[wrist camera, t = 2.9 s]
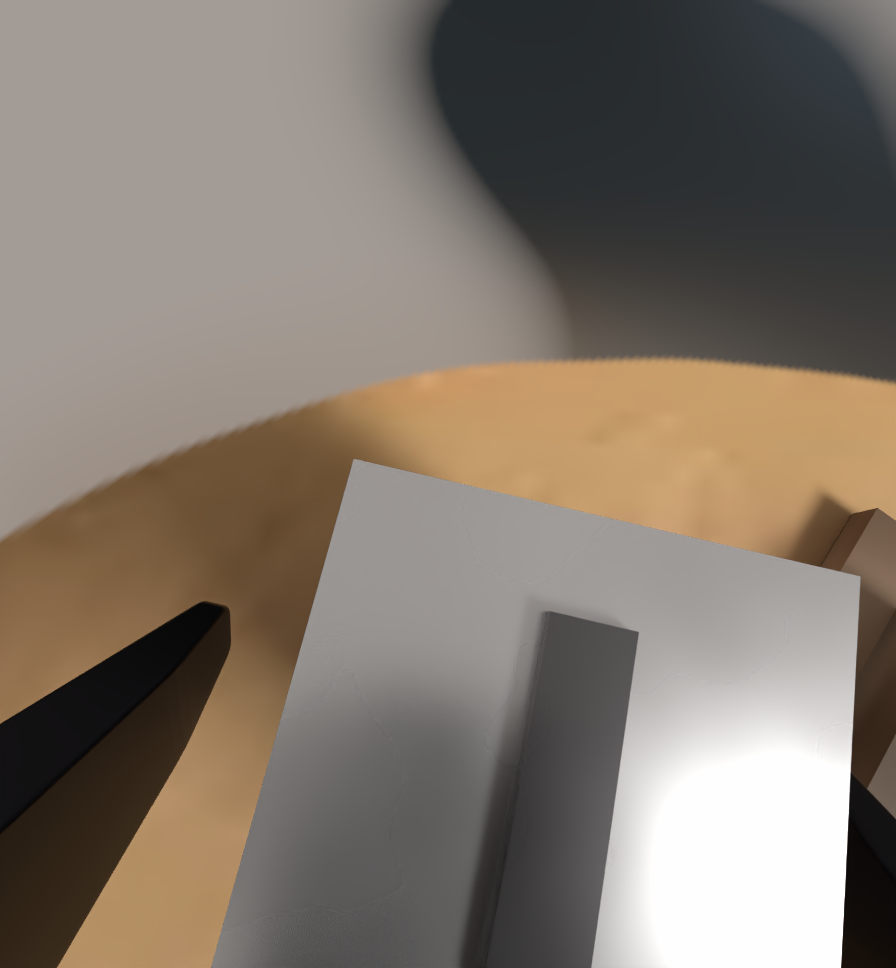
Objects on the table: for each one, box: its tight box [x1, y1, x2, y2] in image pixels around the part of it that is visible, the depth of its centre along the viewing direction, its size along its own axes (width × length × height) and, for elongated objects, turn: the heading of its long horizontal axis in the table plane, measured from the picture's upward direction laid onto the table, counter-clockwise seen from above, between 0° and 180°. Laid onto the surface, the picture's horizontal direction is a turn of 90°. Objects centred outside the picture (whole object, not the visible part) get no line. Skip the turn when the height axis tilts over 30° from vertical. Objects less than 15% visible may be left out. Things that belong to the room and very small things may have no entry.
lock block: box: [211, 459, 860, 968], centre depth 10 cm, size 5×5×12 cm
